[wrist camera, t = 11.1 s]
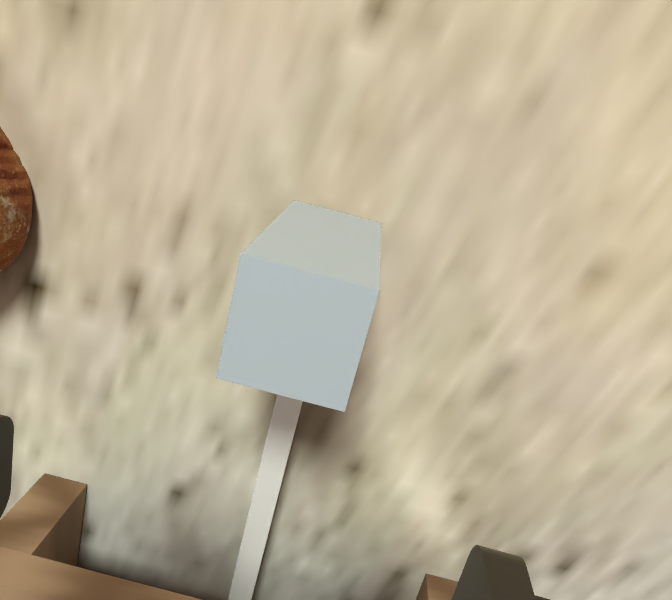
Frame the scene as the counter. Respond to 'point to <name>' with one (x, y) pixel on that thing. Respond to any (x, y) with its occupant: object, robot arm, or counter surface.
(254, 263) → the mallet tool
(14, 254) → the bread roll
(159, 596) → the riser
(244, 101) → the counter surface
